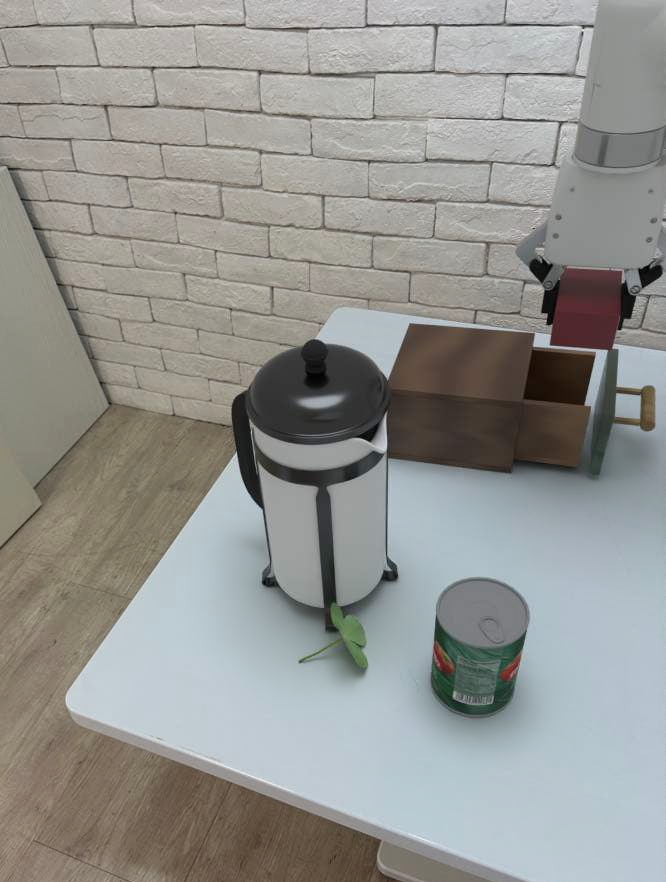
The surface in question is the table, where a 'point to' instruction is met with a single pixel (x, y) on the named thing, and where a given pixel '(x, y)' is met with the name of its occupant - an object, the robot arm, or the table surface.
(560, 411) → the drawer
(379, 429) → the coffee press
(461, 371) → the cabinet
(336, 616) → the seedling
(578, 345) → the maroon rectangular block
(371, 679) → the table surface
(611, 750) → the table surface
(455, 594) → the canned tomato
